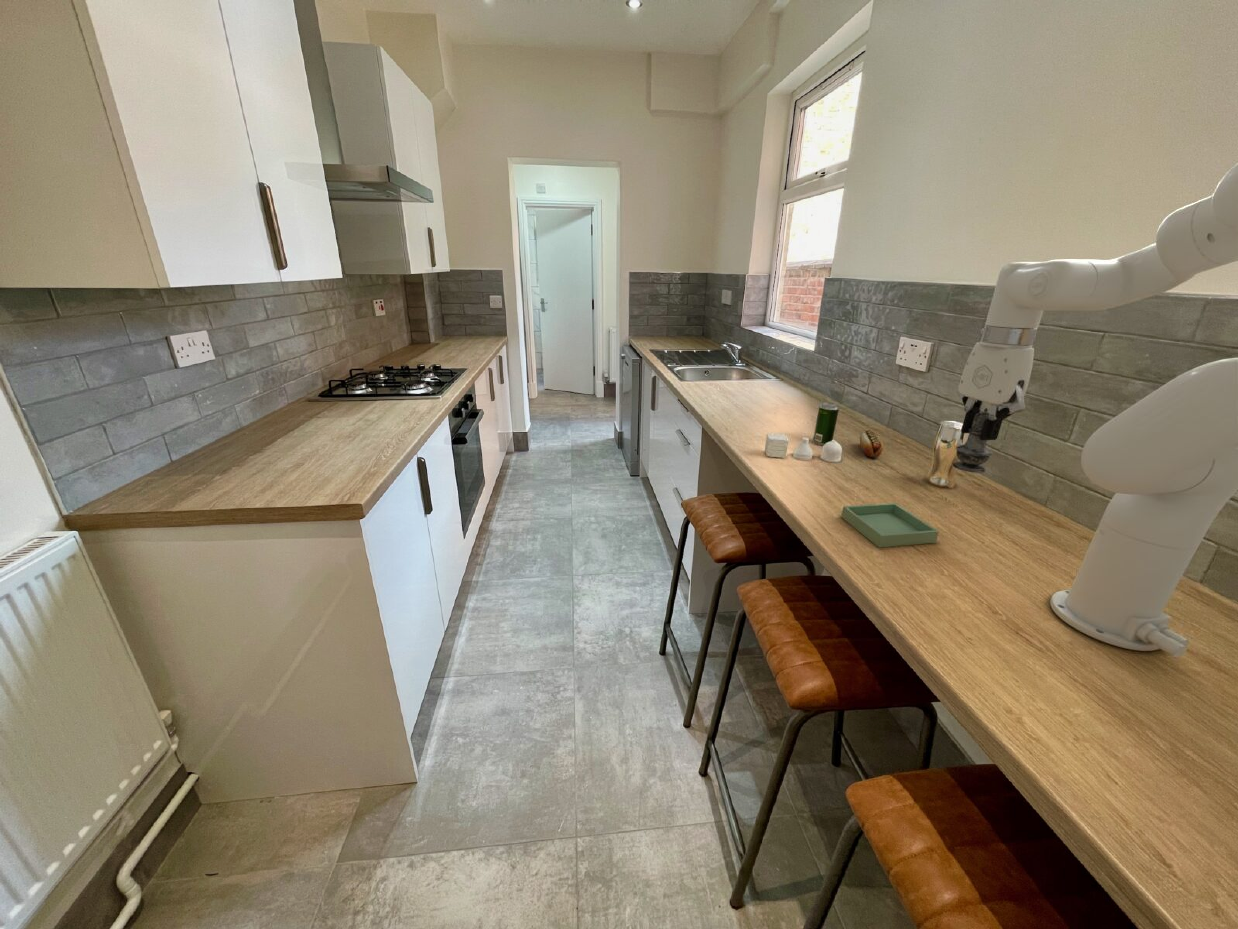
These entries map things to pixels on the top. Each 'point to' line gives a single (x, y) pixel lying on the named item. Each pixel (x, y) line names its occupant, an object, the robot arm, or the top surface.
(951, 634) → the top surface
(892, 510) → the serving tray
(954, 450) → the beer glass
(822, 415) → the beer can
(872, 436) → the hot dog
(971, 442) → the salt shaker
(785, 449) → the container set
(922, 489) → the top surface
